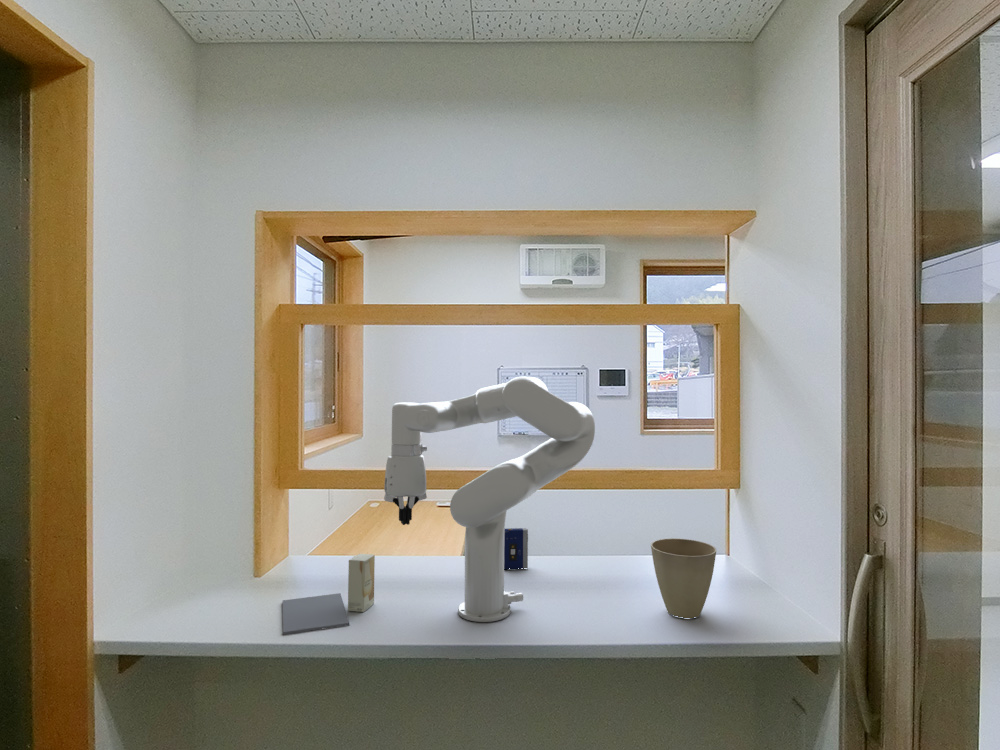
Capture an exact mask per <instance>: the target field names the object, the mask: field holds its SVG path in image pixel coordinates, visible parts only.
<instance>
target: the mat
mask: <svg viewBox="0 0 1000 750" xmlns="http://www.w3.org/2000/svg"><path fill="white" fill-rule="evenodd" d="M345 625H348V626H350V620H349V617H348V614H347V610H346V607H345V603H344V599H343V597H342V595H341V593H339V592H337V593H331V594H324V595H323V594H322V595H315V596H307V597H299V598H298V597H297V598H291V599H284V600H282V635H283V636H284V635H292V633H293V634H299V633H306V632H305V631H307V632H312V631H311V630H314V631H318V630H317V629H321V630H323V629H322V628H328V629H332V628H331V627H334V628H338V627H337V626H341V627H346V626H345Z"/></svg>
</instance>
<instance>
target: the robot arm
mask: <svg viewBox="0 0 1000 750" xmlns="http://www.w3.org/2000/svg"><path fill="white" fill-rule="evenodd" d="M546 385H547V384H545V382H544V381H542V380H541V379H540V378H538V377H534V376H524V375H523V376H516V377H513V378H511V379H510V380H508V382H503V383H499V384H495V385H490V386H486V387H481V388H479V389H477V391H476V392H475V393H473V394H471V395H468V396H464V397H460V398H456V399H452V400H446V401H435V402H434V401H433V402H421V403H418V402H408V401H407V402H406V401H405V402H404V401H403V402H395V403H394V404H393V405H392V409H391V410H392V411H391V449H390V450H391V453H390V454H391V455H388V456H387V460H386V463H385V464H386V465H385V473H384V490H383V491H384V497H383V499H384V501H385V502H388V503H389V502H390V503H394V504H395V505H396V506H397V507H398V521H399V522H400V523H401V525H403V526H405V525H408V526H409V525H410V522H411V521H412V519H413V518H412V517H413V515H412V514H413V508H414V506H415V505H416V504H417V503H418V502H420V501H423V500H426V499H427V498H428V497H427V470H426V462H425V456H424V455H422V454H423V452H427V451H428V446H427V445H423V443H422V434H423V433H425V434H433V433H434V434H435V433H440V432H447V431H451V430H455V429H459V428H464V427H469V426H473V425H477V424H478V425H479V424H489V423H493V422H497V421H498V422H499V421H502V420H506V419H511V418H515V417H518V418H519V419H521V420H522V421H524V423H527V424H528V425H530V426H532V427H533V428H535V429H537V430H538V431H540V432H541V433H543V434H544V435H547V436H548V437H550V438H549V439H548V440H546V441H544V442H542V443H541V444H539V445H537V447H535V448H533V449H532V450H530V451H528V452H527V453H524V454H523V455H521V456H519V457H516V458H512V459H510V460H507V461H504V462H502V463H499V464H497V465H496V466H494V467H492V468H490V469H489V470H487V471H486V472H483V473H482V474H481V475H479V476H477V477H476V478H474V479H473V480H470V482H468V483H466V484H464V485H463V486H461V487H459V488H458V489H457V490H456V491H455V492H454V493H453V495H452V496H451V500H450V502H449V503H450V504H449V510H450V515H451V517H452V519H453V520H454V522H456V523H457V524H458V525H460V526H461V527H464V528H465V533H464V601H463V602H461V603H460V604H459V605H458V607H457V613H458V615H459V617H461V618H462V619H465V620H467V621H472V622H477V623H493V622H496V621H501V620H504V619H506V618H507V617H508V616H509V615H511V612H512V611H511V610H512V609H511V604H512V603H517V602H523V601H524V594H523V592H517V593H516V592H515V591H513V590H512V591H505V570H504V534H505V529H506V518H507V511H509V510H510V509H512V508H514V507H515V506H517V505H518V504H520V503H522V502H523V501H525V500H526V499H528V498H529V497H531V496H533V494H535V493H536V492H537V491H538V490H540V489H542V488H543V487H544V486H547V485H548V484H550V483H552V482H553V481H554V480H556V479H558V478H559V477H561V476H563V475H564V474H566V473H567V472H569V471H570V470H572V469H573V468H574V467H576V466H577V465H578V464H580V462H581V461H583V459H584V458H585V457H586V455H587V454H588V453H589V451H590V449H591V447H592V445H593V442H594V439H595V433H596V425H595V419H594V415H593V413H592V411H591V410H590V408H589V407H587V406H586V405H585V404H583V403H581V402H577V401H568V402H567V400H564V399H562V398H560V397H559V396H557V395H555V394H554V393H552V392H550V391H549V389H548V386H546ZM404 497H407V499H406V504H405V502H404Z"/></svg>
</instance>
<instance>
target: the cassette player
mask: <svg viewBox="0 0 1000 750" xmlns="http://www.w3.org/2000/svg"><path fill="white" fill-rule="evenodd" d="M528 545H529V529H528V528H526V527H524V528H523V527H522V528H521V527H520V528H517V527H515V528H505V534H504V569H509V568H510V569H518V568H519V569H521V568H523V569H524V568H528V567H529V563H528V561H529V559H528V558H529V556H528V555H529V549H528V547H529V546H528ZM528 569H529V568H528Z"/></svg>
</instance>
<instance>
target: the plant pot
mask: <svg viewBox="0 0 1000 750" xmlns="http://www.w3.org/2000/svg"><path fill="white" fill-rule="evenodd" d="M650 548H651V549H650V550H651V556H652V562H653V567H654V568H653V569H654V572H655V576H656V579H657V584H658V588H659V591H660V595H661V598H662V601H663V604H664V606H665V609H666V611H668V612H667V614H669V613H670V614H672V615H674V616H678V617H683V618H694V617H698V616H699V615H700V616H701V614H702V611H703V608H704V606H705V603H706V602H707V601H706V600H707V597H708V594H709V590H710V587H711V584H712V579H713V575H714V574H713V573H714V568H715V562H716V556H717V548H716V547H715V546H713V545H712V544H710V543H707V542H704V541H699V540H696V539H695V540H694V539H689V538H672V537H671V538H662V539H656V540H654V541H652V542H651V543H650ZM670 614H669V615H670ZM700 616H699V617H700ZM699 617H698V618H699Z"/></svg>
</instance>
